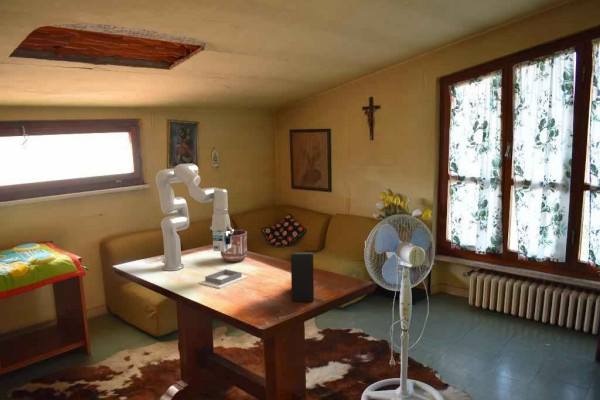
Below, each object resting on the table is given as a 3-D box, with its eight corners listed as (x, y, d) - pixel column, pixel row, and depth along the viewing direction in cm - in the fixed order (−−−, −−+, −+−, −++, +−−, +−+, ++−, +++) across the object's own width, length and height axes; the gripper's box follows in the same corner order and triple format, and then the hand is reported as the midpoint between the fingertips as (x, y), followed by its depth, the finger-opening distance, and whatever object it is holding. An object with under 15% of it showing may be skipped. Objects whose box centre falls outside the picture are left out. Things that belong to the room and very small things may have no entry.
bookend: (292, 285, 238) (292, 242, 235) (313, 285, 238) (312, 242, 235) (291, 302, 215) (290, 254, 212) (314, 302, 215) (313, 254, 211)
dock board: (198, 283, 244) (198, 277, 244) (227, 272, 262) (226, 267, 261) (220, 288, 235) (219, 282, 235) (248, 277, 253) (247, 271, 252)
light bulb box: (224, 252, 240) (223, 232, 239) (212, 251, 242) (211, 231, 240) (231, 246, 251) (231, 227, 249) (220, 246, 252) (219, 227, 250)
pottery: (218, 257, 294) (217, 230, 291) (245, 255, 299) (244, 228, 297) (222, 265, 278) (221, 237, 275) (250, 262, 283) (249, 234, 280)
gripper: (204, 211, 245) (205, 242, 247) (227, 214, 235) (229, 246, 238) (214, 209, 251) (215, 239, 253) (237, 212, 241) (238, 243, 244)
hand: (222, 243), depth 245 cm, fingers closed on light bulb box, 8 cm apart
